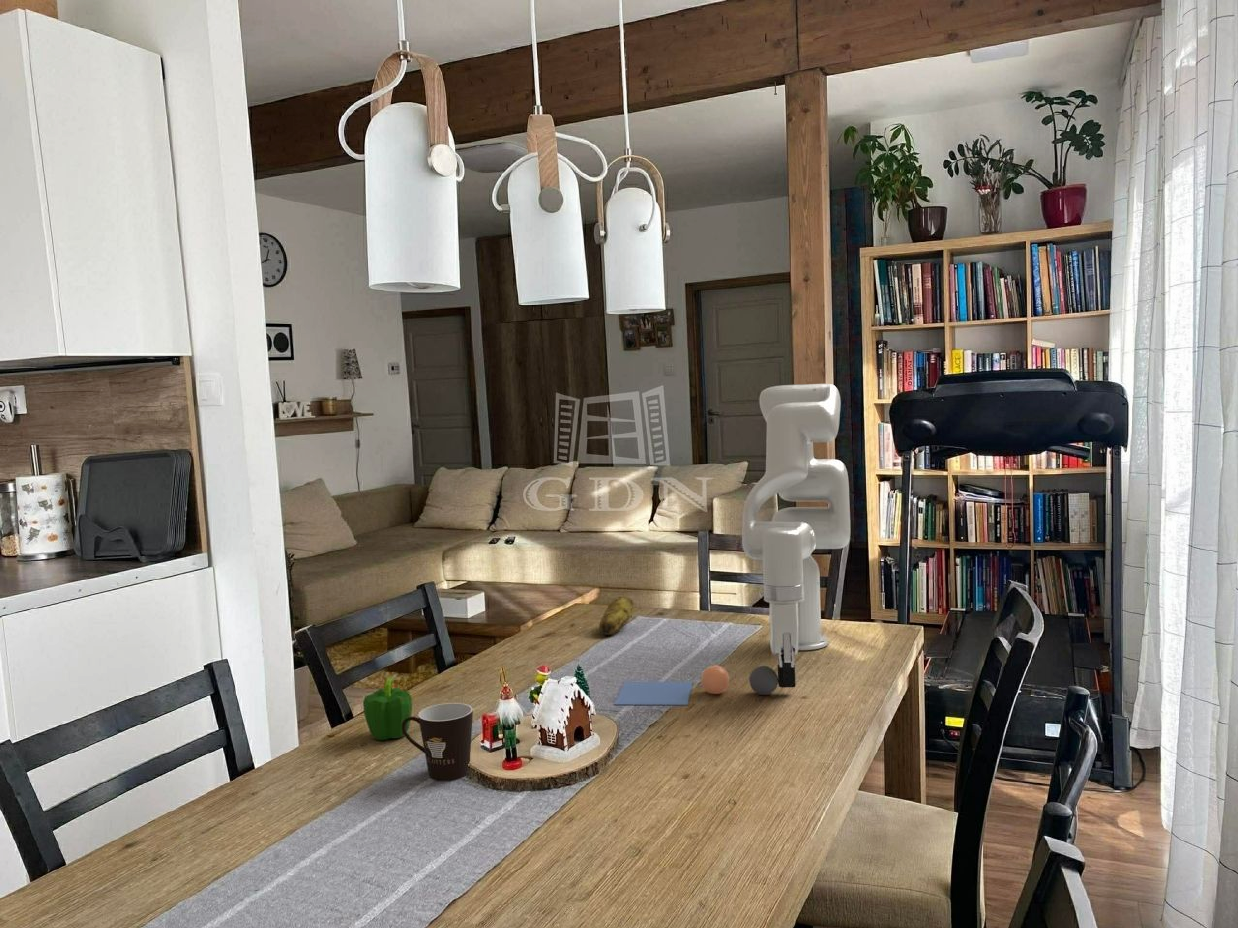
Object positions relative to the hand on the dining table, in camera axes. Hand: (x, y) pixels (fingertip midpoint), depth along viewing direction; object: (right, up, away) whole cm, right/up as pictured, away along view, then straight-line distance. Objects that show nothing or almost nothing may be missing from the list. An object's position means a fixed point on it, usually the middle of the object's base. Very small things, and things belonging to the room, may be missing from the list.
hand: (786, 685), depth 181 cm
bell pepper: (-73, -6, -13) cm, 75 cm away
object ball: (-14, +1, +2) cm, 14 cm away
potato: (-33, +1, +55) cm, 64 cm away
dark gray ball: (-4, +1, 0) cm, 5 cm away
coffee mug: (-61, -7, -30) cm, 68 cm away
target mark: (-25, -2, +4) cm, 26 cm away
